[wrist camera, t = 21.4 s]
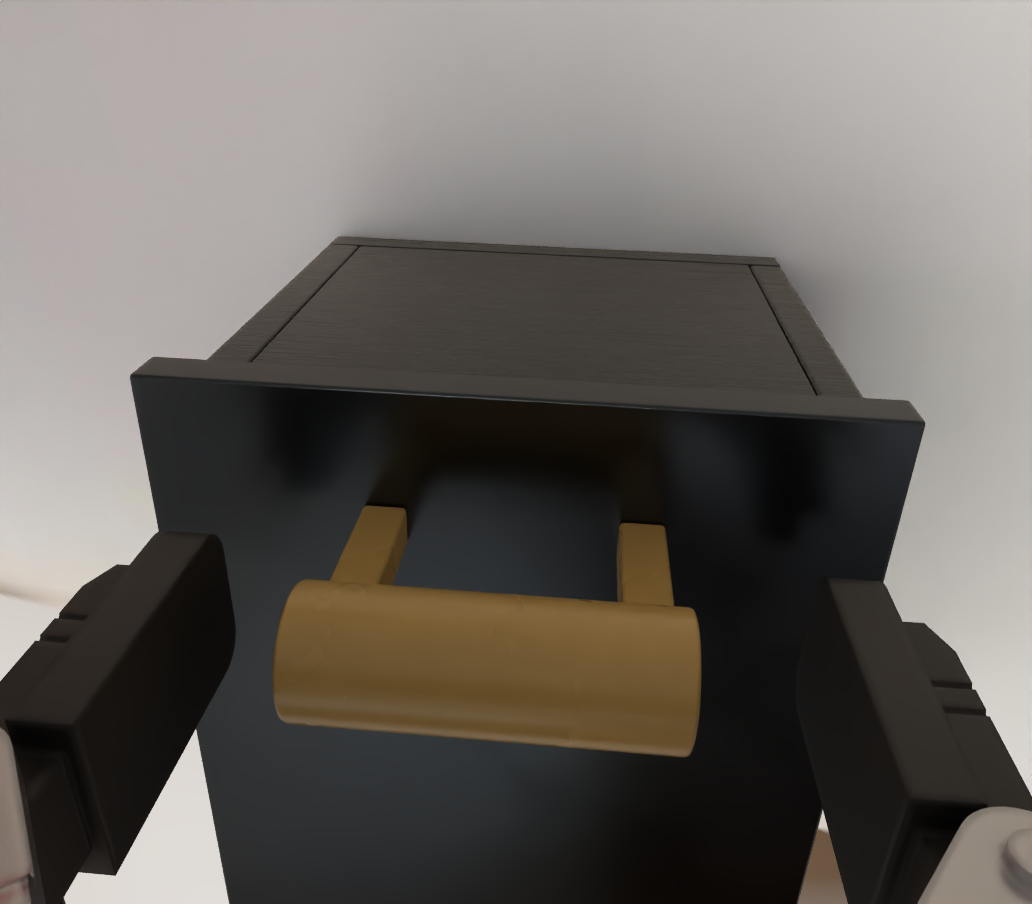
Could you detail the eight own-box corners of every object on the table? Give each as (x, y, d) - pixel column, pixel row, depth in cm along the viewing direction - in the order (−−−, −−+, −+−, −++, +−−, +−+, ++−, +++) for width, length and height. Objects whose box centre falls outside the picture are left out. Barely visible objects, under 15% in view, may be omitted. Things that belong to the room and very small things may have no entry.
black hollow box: (337, 235, 24) (159, 401, 14) (775, 257, 23) (898, 447, 14) (364, 635, 30) (253, 935, 21) (709, 662, 29) (759, 986, 20)
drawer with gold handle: (151, 355, 14) (-47, 514, 10) (909, 399, 13) (1057, 593, 9) (253, 937, 21) (162, 1183, 16) (760, 988, 20) (803, 1259, 16)
